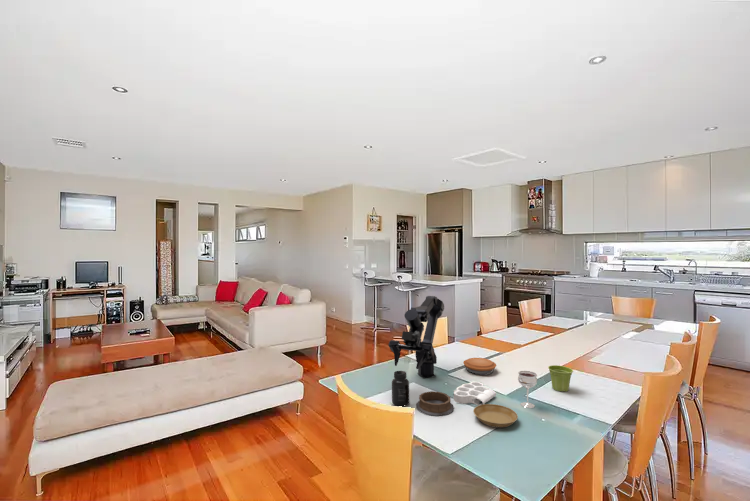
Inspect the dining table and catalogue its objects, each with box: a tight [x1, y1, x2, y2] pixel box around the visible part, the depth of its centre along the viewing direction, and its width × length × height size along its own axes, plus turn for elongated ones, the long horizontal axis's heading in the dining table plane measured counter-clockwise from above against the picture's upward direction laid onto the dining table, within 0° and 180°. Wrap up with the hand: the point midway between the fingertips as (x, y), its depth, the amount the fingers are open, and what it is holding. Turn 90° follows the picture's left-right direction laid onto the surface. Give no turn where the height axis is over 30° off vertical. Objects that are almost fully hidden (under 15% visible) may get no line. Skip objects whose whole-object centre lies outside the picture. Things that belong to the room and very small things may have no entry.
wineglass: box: [517, 370, 538, 409], centre depth 137 cm, size 7×7×12 cm
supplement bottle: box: [391, 370, 410, 407], centre depth 140 cm, size 7×7×12 cm
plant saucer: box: [472, 403, 519, 428], centre depth 126 cm, size 15×15×3 cm
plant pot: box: [547, 364, 574, 392], centre depth 152 cm, size 9×9×9 cm
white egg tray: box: [453, 381, 497, 406], centre depth 145 cm, size 3×18×15 cm
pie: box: [462, 357, 497, 376], centre depth 175 cm, size 15×16×5 cm
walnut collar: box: [415, 390, 455, 417], centre depth 136 cm, size 14×14×4 cm
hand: (406, 367), depth 145 cm, fingers open, 9 cm apart
